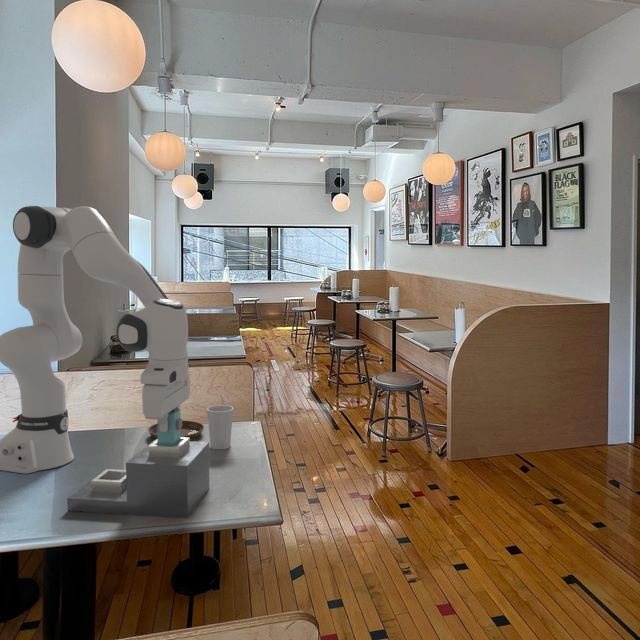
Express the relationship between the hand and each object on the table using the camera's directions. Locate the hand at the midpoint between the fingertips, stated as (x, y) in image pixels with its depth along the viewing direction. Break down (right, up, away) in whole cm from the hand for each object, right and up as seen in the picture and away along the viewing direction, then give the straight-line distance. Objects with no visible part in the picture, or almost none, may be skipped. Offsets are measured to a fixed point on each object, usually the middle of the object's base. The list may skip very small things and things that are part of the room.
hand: (168, 427), depth 124 cm
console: (-7, -18, +2) cm, 19 cm away
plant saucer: (-12, -13, +50) cm, 53 cm away
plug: (0, -4, 0) cm, 4 cm away
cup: (+5, -14, +40) cm, 43 cm away
